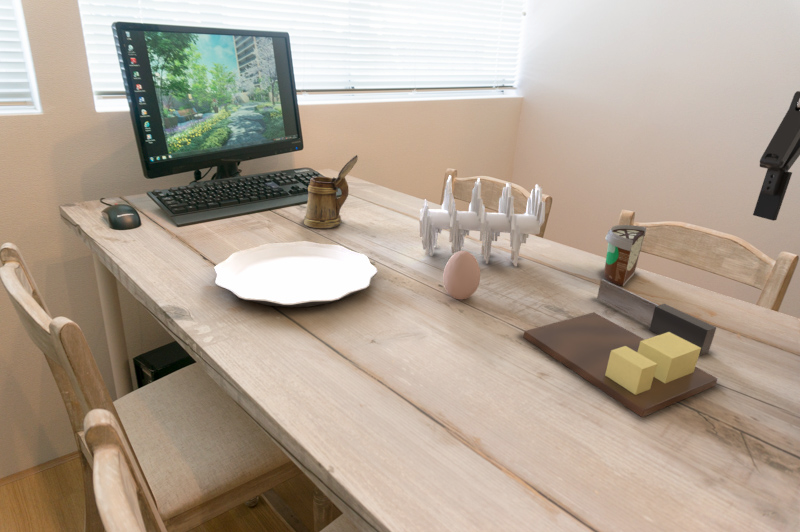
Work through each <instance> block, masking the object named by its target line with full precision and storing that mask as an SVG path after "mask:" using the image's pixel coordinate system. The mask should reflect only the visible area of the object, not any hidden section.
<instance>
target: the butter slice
mask: <svg viewBox="0 0 800 532" xmlns="http://www.w3.org/2000/svg"><path fill="white" fill-rule="evenodd" d="M656 366H657V363H655V362H653V361H651V360H650V359H648V358H646V357H644V356H643V355H641V354H639V353H637V352H636V351H634V350H632V349H630V348H628V347H627V346H624V347H620V348H617V349H614V350H611V353H610V357H609V361H608V365H607V370H606V374H605V376H607V377H609V378H610V379H612V380H613V381H615V382H616V383H618V384H619V385H621V386H622V387H624V388H626V389H627V390H629V391H630V392H632V393H633V394H635V395H637V394H639V393H642V392H644V391H647V390H649V389H650V388H651V384H652V381H653V377H654V374H655V370H656Z"/></svg>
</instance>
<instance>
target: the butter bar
mask: <svg viewBox="0 0 800 532" xmlns="http://www.w3.org/2000/svg"><path fill="white" fill-rule="evenodd" d="M700 350H701V348H700V347H698V346H696V345H694V344H692V343H690V342H688V341H686V340H684V339H682V338H680V337H678V336H676V335H674V334H672V333H670V332H667V333H664V334H661V335H658V334H657V335H655V336H651V337H649V338H645V340H642V341H640V345H639V349H638V352H637V353H639V354H641V355H643V356H644V357H646V358H648V359H650V360H651V361H653V362H655V363H657V366H656V370H655V374H654V377H655V378H657V379H658V380H660V381H662V382H663V383H668V382H670V381H673V380H675V379H678V378H680V377H683V376H685V375H688V374H690V373H693V372H694V370H695V367H697V363H698V360H699V357H700V356H699V353H700Z"/></svg>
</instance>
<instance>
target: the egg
mask: <svg viewBox="0 0 800 532" xmlns="http://www.w3.org/2000/svg"><path fill="white" fill-rule="evenodd" d="M442 282H443V286H444V289H445V291H446V292H447V293H448V295H450V297H452V298H454V299H456V300H466V299H468V298H470V297H471V296H473V295H474V294H475V293H476V291H477V290H478V288H479V286H480V282H481V268H480V265H479V262H478V260H477V258H476V257H475V255H474V254H472V253H471V252H469V251H467V250H461V251H459V252H457V253H453V254H452V255H451V257H449V258H448V261H447V262H446V264H445V266H444V270H443V275H442Z"/></svg>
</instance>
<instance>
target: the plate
mask: <svg viewBox="0 0 800 532" xmlns="http://www.w3.org/2000/svg"><path fill="white" fill-rule="evenodd" d="M213 269H214V272H215V274H216V277H215V281H214V283H215V285H216V286H217V287H219V288H221V289H224V290H226V291H228V292H231V293H232V295H234V296H236V297H237V298H238V299H241V300H244V301H249V302H253V303H257V304H259V305H260V304H261V305H265V306H271V307H280V308H281V307H282V308H308V307H315V306H321V305H327V304H330V303H333V302H337V301H339V300H342V299H344V298H346V297H349V296H352V295H354V294H356V293H359V292H361V291H364V290H366V289H368V288H369V287H370V285H371V280H372V279H373V278H374V277H375V276H376V275H377V274H378V268H376V267H375V266H374V265H373V264H372V263H371V262H370V259H369V257H368V256H367V255H366V254H364V253H360V252H357V251H354V250H350V249H349V248H346V246H345V247H344V246H342V245H339V244H333V243H332V244H329V243H318V242H314V241H307V240H299V241H290V242H269V243H263V244H260V245H258V246H255V247H250V248H247V249H241V250H237V251H235V252H233V253H231V254H230V255H229V256H228V258H227V259H224V260H223V261H221V262H219V263H218V264H216V265H215V266H214V268H213Z"/></svg>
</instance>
